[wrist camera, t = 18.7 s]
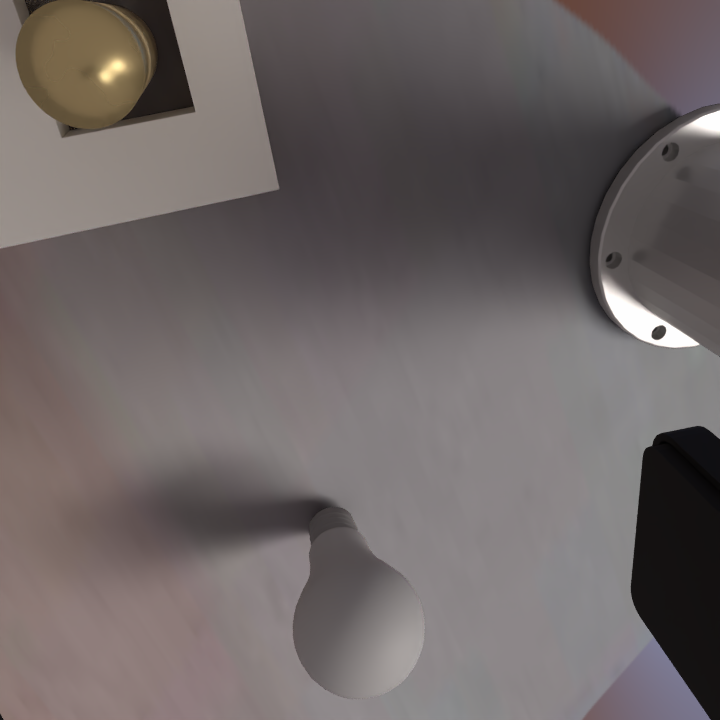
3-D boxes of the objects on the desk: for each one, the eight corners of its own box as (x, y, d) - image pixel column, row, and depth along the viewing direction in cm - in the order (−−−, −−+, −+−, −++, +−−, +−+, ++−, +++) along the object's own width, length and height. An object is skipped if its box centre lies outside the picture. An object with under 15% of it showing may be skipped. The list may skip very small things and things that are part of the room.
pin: (143, -3, 25) (121, -11, 18) (167, 87, 27) (158, 116, 19) (56, 12, 25) (-5, 11, 17) (86, 102, 27) (42, 139, 19)
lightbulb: (351, 452, 37) (407, 606, 27) (398, 524, 40) (463, 685, 30) (253, 507, 37) (275, 678, 27) (307, 574, 40) (344, 749, 30)
